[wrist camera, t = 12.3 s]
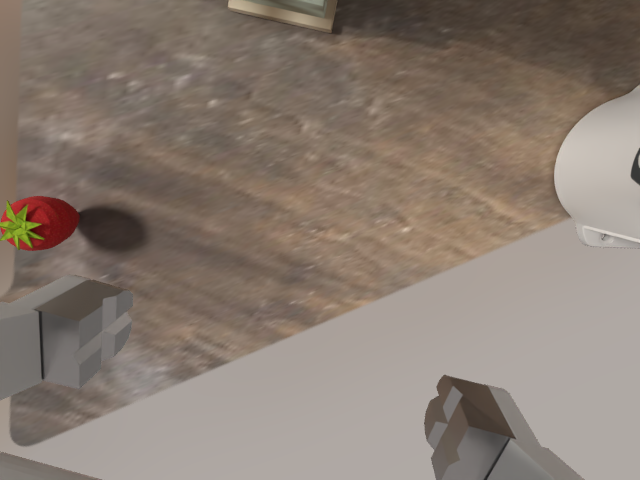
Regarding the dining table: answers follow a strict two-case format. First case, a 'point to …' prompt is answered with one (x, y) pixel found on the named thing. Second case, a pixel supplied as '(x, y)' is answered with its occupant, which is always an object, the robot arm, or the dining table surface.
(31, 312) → the robot arm
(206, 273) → the dining table surface
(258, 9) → the awning socket
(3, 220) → the strawberry
